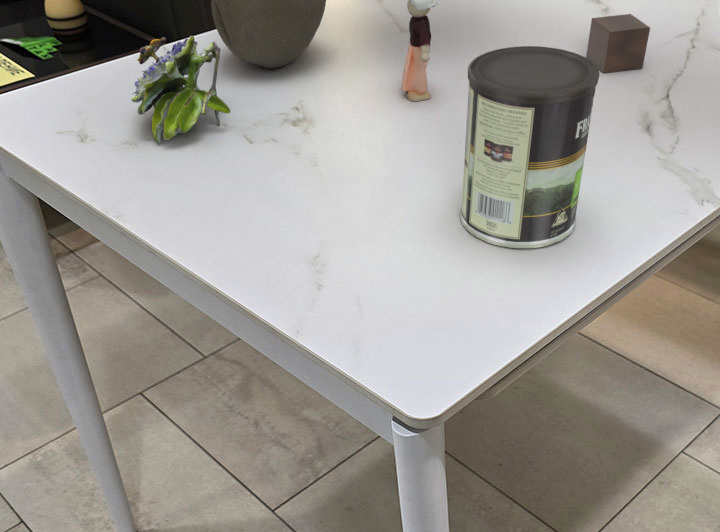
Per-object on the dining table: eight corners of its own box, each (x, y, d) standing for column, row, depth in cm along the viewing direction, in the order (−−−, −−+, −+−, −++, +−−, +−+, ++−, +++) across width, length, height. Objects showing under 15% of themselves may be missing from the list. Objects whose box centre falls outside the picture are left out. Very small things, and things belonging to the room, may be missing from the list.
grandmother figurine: (391, 84, 102) (392, -25, 94) (422, 80, 102) (425, -29, 95) (411, 110, 96) (414, -4, 88) (444, 106, 96) (449, -8, 89)
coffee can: (574, 193, 80) (597, 46, 71) (576, 254, 72) (602, 98, 63) (464, 185, 82) (473, 42, 73) (453, 244, 74) (462, 91, 65)
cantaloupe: (322, 84, 103) (316, -46, 94) (208, 83, 104) (191, -44, 95) (335, 41, 114) (330, -78, 105) (231, 41, 115) (218, -76, 106)
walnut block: (623, 53, 106) (630, 13, 103) (642, 68, 102) (650, 27, 99) (585, 58, 105) (591, 17, 102) (603, 73, 102) (610, 32, 99)
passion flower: (169, 157, 101) (167, 55, 101) (251, 150, 97) (250, 44, 97) (112, 142, 90) (110, 29, 90) (202, 134, 86) (200, 15, 86)
